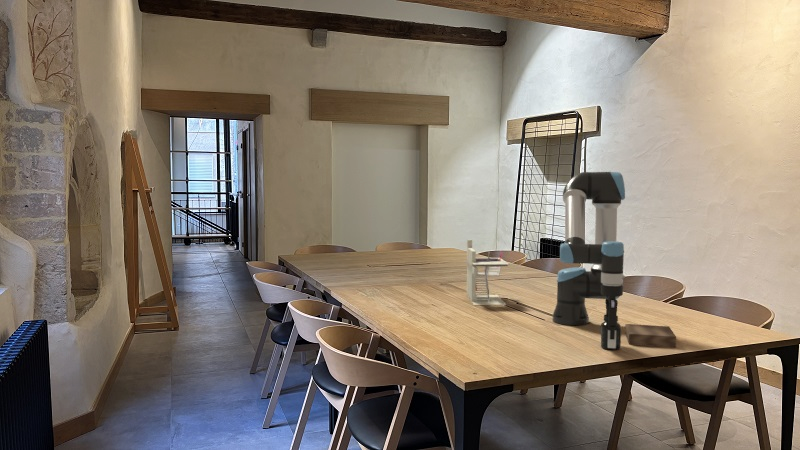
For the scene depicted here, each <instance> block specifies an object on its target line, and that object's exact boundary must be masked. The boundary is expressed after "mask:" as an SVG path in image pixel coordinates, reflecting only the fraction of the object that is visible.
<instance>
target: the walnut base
mask: <svg viewBox="0 0 800 450" xmlns="http://www.w3.org/2000/svg"><path fill="white" fill-rule="evenodd" d="M624 327H625V328H624V329H625V332H624V334H625V337H626V340H627V342H628V345H631V346H632V345H633V346H635V345H636V346H648V347H661V348H662V347H664V348H677V335H676V334H675V333H674V331H673V330H672V328H671V326H668V325H667V326H666V325H664V326H663V325H651V324H650V325H649V324H631V323H625V326H624Z"/></svg>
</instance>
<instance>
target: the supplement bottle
mask: <svg viewBox="0 0 800 450" xmlns="http://www.w3.org/2000/svg"><path fill="white" fill-rule="evenodd" d="M618 318H619V316H618V315H617V330H616V348H608V330H606V328H609V320H608V314H607V315H606V314H604V315H603V322H601V324H600V346H601V347H600V348H602V349H604V350H608V351H619V350H620V349H621V345H622V344H621V341H622V340H621V339H622V338H621V337H622V336H621V335H622V333H621V332H622V331H621V330H622V327H621V324H620V323H619V320H618Z"/></svg>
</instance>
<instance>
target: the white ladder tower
mask: <svg viewBox="0 0 800 450" xmlns="http://www.w3.org/2000/svg"><path fill="white" fill-rule="evenodd" d="M490 253H491V252H490V251H488V255H487V257H477V251H476V250H475V249H474V248H473V239H466V296H467V298H468V297H469V298H468V299H469V301H470V300H471V301H470V302H471V304H472V303H473V304H472V305H473V306H474V305H504V306H507V303H506V302H505V301H504V300H503V299H502V298H501V297H500V296H499V295H498V294H490V288H489V280H488V277H500V274H501V270H502V267H509V266H510V263H509V262H507V261H505V260H504V259H502V256H503V253H500V255H499V257H491V254H490ZM478 267H484V272H479V268H478ZM477 277H484V278H477Z"/></svg>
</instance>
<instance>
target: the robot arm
mask: <svg viewBox="0 0 800 450" xmlns="http://www.w3.org/2000/svg"><path fill="white" fill-rule="evenodd" d="M625 199H626V188H625V182H624V177H623V175H622V173H620V172H617V171H585V172H584V171H583V172H580V173H577V174H576V175H573V176H572V177H571V178H570V179H569V180H568V182H567V183H566V185H565V186H564V188H563V191H562V201H563V203H564V210H565V212H564V214H565V215H564V216H565V217H564V243H560V245H559V260H560V261H559V262H561V263H565V264H585V265H586V264H589V265H591V266H590V271H589V270H587V269H586V267H581V266H580V267H577V266H576V267H567V268H562V269H560V270H558V272H557V280H556V282H557V283H556V284H557V285H556V286H557V287H556V288H557V290H556V292H557V293H556V299H557V300H556V304H555V308H554V310H553V313H552V322H554V323H556V324H560V325H565V326H566V325H567V326H584V325H588V324H589V321H590V319H589V318H590V316H589V314H588V310H587V308H586V303H585V302H586V299H594V300H596V299H597V300H598V299H599V300H605V309H606V311H605V315H607V314H608V320H609V328H606V330H608V348H616V330H617V322H618V321H617V316H618V315H617V312H618V305H619V304H618V303H619V302H618V299H619V298H620V297H622V296H623V294H624V293H623V292H624V286H623V285H624V279H625V278H626V275H624V256H625V255H624V253H625V247H624V245H625V244H624V243H623V242H622V241H618V240H617V229H618V208H619V206H621V205H622V201H625ZM587 200H591V205H592V206H594V208H595V225H594V226H595V227H594V244H593V243H586V232H585V231H586V228H585V227H586V226H585V223H586V222H585V220H586V218H585V202H586V201H587Z"/></svg>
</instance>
